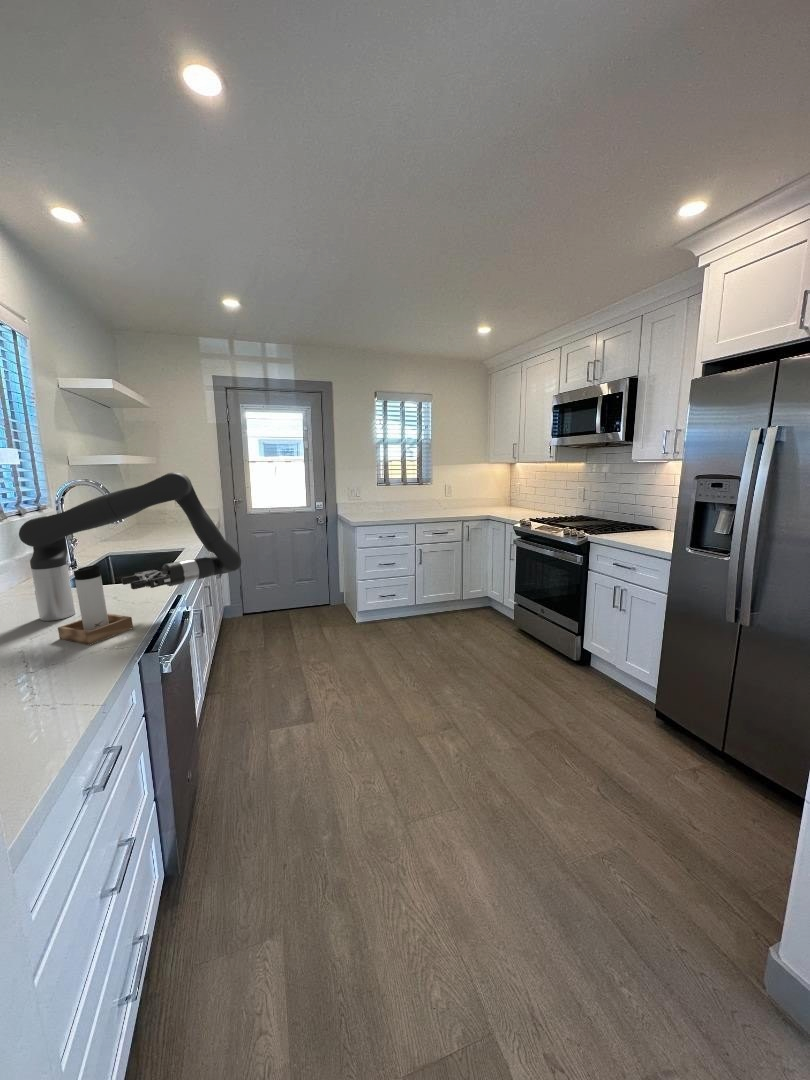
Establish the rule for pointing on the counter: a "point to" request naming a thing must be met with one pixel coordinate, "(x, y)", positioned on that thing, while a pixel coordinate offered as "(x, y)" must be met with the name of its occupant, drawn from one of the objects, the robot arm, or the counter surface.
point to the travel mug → (91, 597)
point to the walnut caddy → (95, 630)
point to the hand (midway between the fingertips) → (126, 583)
